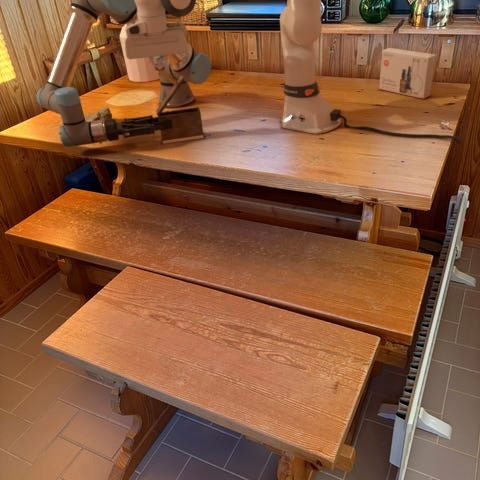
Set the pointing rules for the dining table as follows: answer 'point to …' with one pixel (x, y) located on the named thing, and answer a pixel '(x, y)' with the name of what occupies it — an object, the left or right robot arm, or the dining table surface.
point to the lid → (172, 91)
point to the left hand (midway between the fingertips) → (171, 121)
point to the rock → (100, 115)
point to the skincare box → (407, 72)
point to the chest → (182, 125)
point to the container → (138, 64)
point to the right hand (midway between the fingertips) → (160, 69)
